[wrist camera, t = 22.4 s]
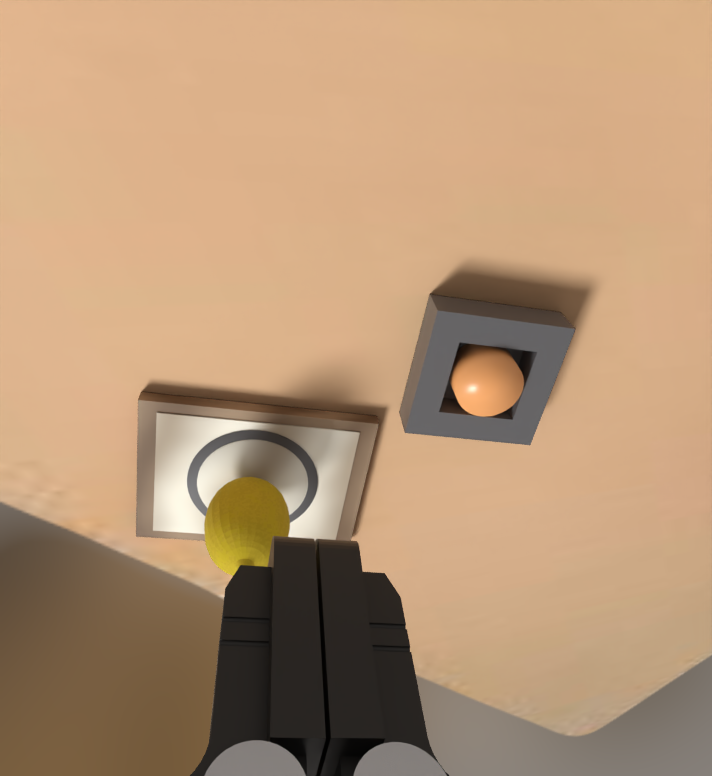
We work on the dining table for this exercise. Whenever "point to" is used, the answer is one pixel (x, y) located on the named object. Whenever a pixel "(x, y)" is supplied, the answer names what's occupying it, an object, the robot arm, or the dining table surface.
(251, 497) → the lemon
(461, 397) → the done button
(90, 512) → the dining table surface
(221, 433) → the drawing board
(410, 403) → the button housing
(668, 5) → the dining table surface
